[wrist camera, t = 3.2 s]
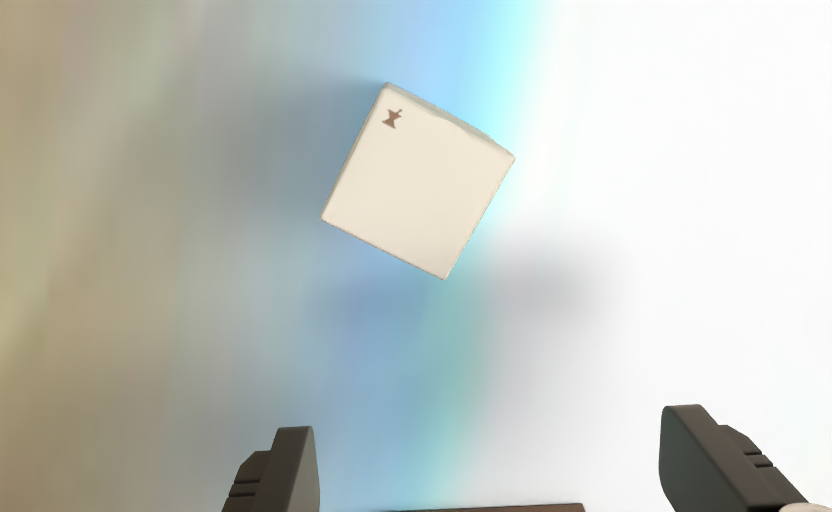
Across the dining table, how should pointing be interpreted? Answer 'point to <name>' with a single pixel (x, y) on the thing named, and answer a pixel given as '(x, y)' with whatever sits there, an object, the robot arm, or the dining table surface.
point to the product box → (416, 181)
